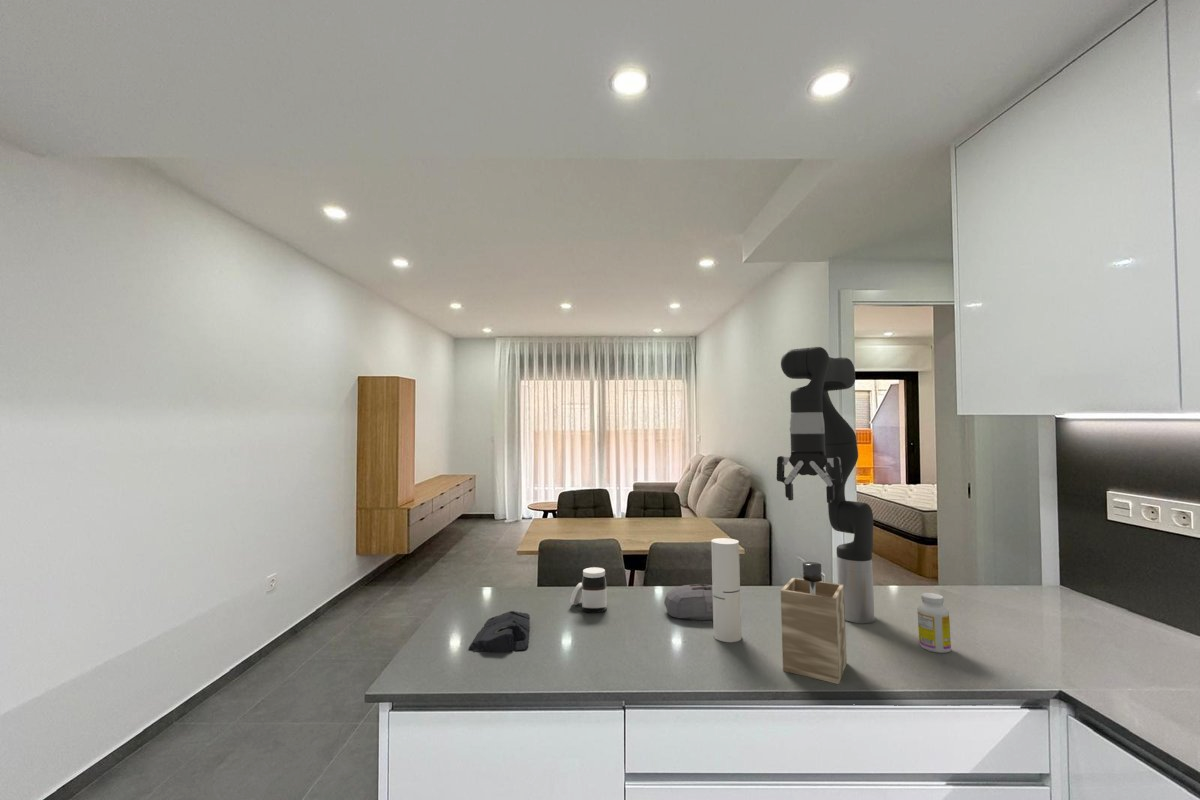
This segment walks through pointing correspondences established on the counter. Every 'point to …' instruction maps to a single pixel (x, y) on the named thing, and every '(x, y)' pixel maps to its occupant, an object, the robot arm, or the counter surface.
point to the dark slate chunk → (503, 634)
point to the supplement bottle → (933, 624)
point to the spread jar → (591, 590)
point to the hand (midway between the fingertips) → (809, 501)
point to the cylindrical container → (726, 589)
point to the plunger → (812, 574)
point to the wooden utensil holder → (813, 630)
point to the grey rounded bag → (690, 602)
